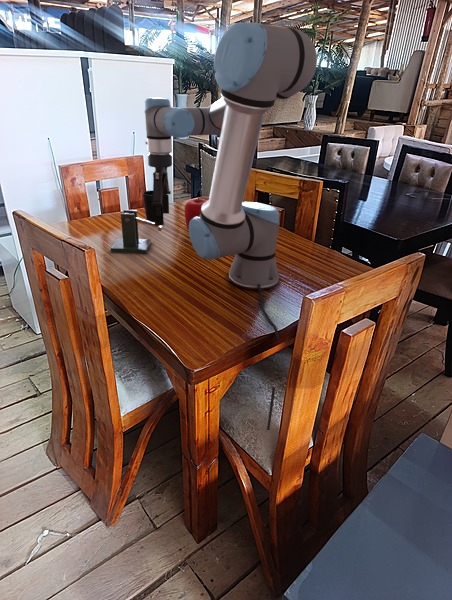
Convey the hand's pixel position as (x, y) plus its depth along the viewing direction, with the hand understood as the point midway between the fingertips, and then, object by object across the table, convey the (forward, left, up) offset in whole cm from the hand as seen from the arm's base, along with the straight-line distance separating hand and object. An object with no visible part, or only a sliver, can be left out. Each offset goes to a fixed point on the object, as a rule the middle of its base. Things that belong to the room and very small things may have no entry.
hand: (162, 219), depth 135 cm
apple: (+19, -11, -11) cm, 25 cm away
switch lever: (0, +7, -2) cm, 7 cm away
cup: (+29, +8, -11) cm, 33 cm away
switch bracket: (0, +11, -11) cm, 16 cm away
